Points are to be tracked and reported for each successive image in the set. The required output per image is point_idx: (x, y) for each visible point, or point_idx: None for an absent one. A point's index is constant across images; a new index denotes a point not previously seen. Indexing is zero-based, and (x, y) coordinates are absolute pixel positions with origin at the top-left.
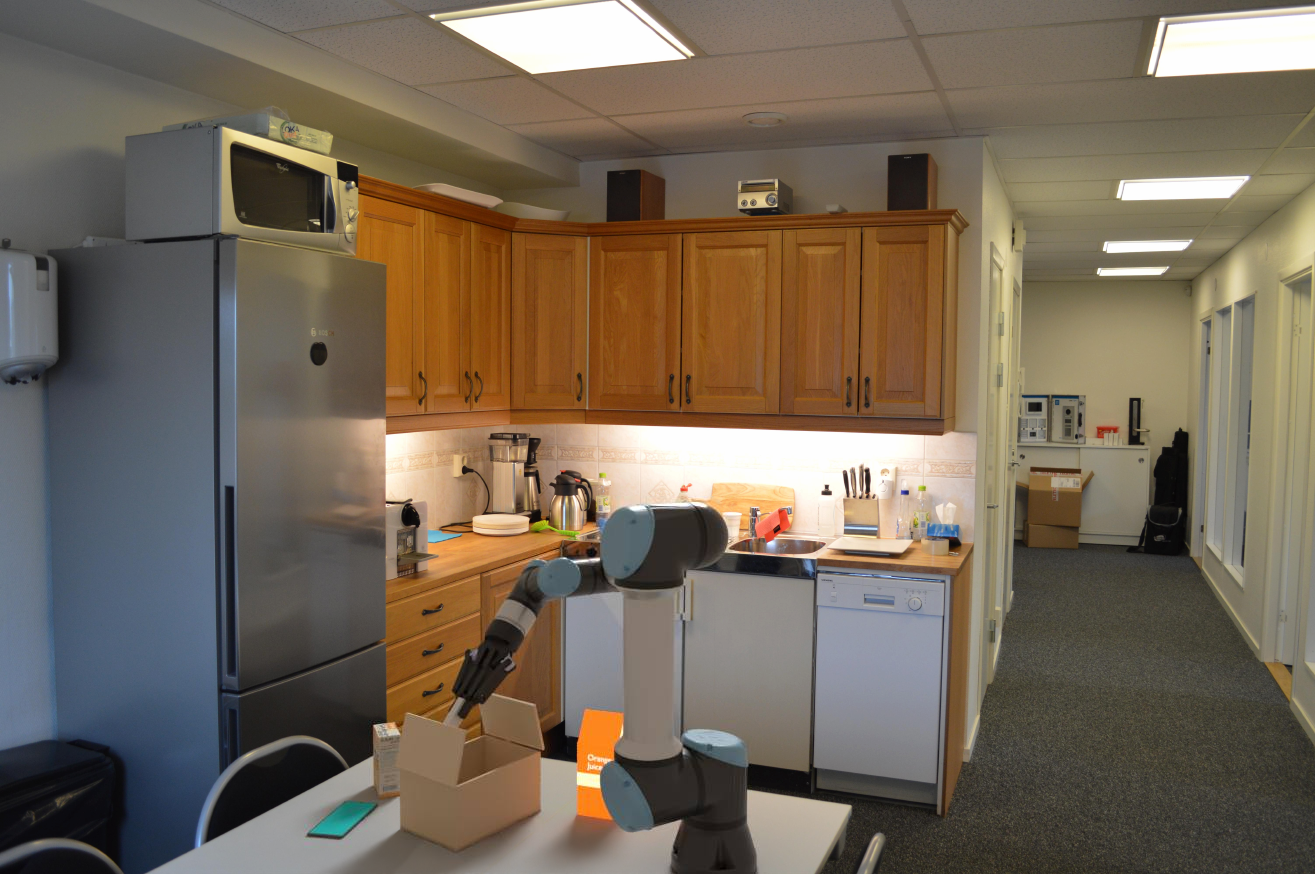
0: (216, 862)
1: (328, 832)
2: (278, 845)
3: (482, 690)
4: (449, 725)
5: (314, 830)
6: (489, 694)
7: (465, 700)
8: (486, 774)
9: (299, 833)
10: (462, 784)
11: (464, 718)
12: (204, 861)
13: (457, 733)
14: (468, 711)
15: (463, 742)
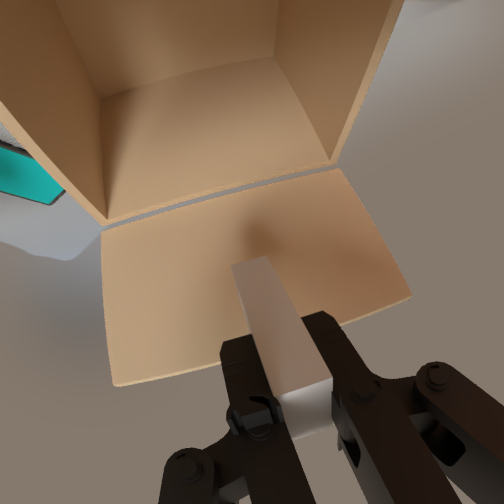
0: (81, 248)
1: (58, 187)
2: (66, 220)
3: (458, 439)
4: (341, 323)
5: (43, 199)
6: (492, 410)
7: (331, 415)
8: (367, 89)
9: (40, 208)
10: (338, 151)
11: (325, 314)
12: (74, 253)
13: (378, 294)
14: (348, 345)
15: (394, 264)
